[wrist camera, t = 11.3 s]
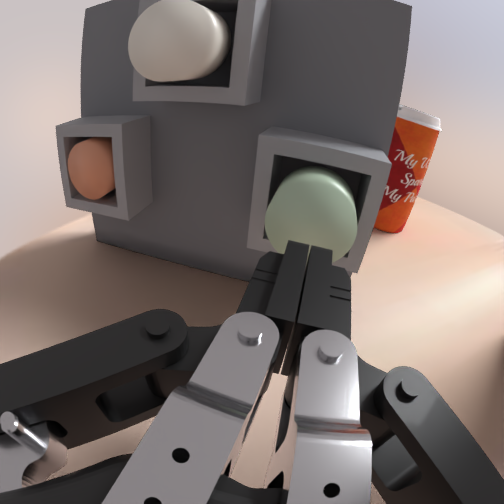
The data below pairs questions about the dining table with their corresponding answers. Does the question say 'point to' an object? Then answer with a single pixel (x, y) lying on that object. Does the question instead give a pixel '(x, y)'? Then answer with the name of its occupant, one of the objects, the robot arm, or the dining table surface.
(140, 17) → the cream button
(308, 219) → the sage button
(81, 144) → the terracotta button
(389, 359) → the dining table surface
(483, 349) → the dining table surface
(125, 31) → the button panel
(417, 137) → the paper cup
